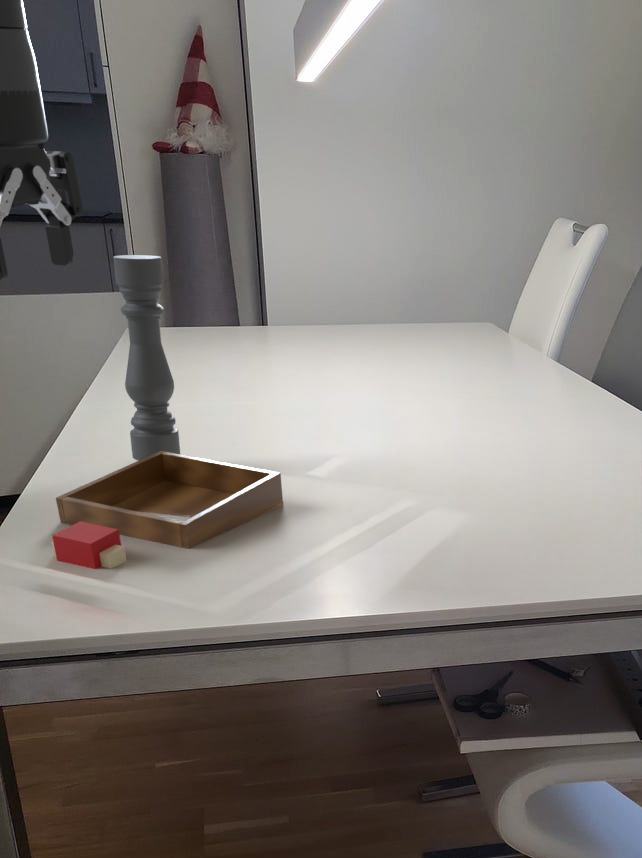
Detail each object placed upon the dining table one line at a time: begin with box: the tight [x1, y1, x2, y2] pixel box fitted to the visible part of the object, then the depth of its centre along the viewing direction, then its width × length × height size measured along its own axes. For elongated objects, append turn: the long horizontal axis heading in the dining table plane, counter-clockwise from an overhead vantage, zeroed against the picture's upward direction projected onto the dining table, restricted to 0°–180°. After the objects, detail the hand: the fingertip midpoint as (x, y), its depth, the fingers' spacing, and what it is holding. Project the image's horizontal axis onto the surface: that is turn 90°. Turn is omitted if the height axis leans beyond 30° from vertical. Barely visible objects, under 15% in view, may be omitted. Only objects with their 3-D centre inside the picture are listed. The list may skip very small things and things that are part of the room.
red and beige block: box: [50, 521, 128, 570], centre depth 106 cm, size 7×4×5 cm, turn 66°
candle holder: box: [112, 254, 181, 461], centre depth 134 cm, size 6×6×25 cm
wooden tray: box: [55, 451, 284, 550], centre depth 119 cm, size 18×18×4 cm
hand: (31, 271), depth 103 cm, fingers open, 8 cm apart
